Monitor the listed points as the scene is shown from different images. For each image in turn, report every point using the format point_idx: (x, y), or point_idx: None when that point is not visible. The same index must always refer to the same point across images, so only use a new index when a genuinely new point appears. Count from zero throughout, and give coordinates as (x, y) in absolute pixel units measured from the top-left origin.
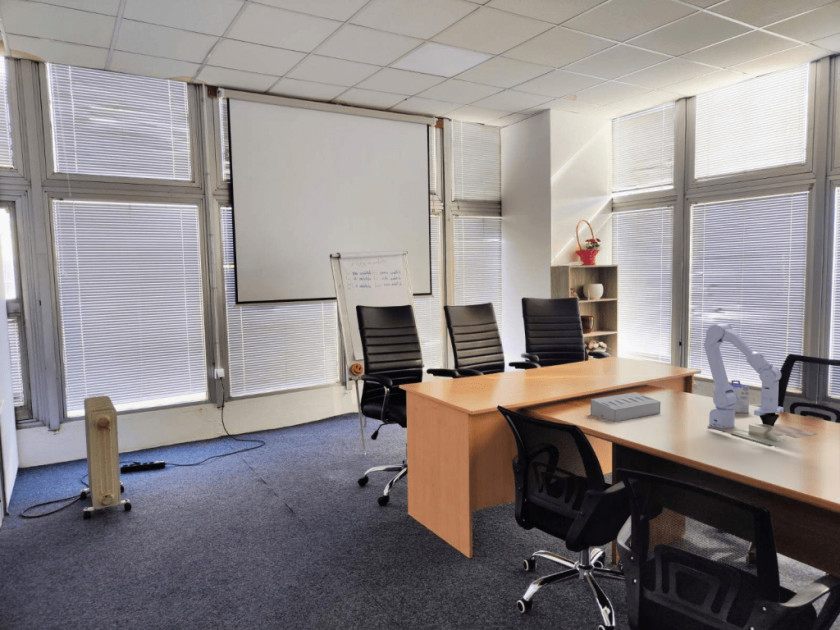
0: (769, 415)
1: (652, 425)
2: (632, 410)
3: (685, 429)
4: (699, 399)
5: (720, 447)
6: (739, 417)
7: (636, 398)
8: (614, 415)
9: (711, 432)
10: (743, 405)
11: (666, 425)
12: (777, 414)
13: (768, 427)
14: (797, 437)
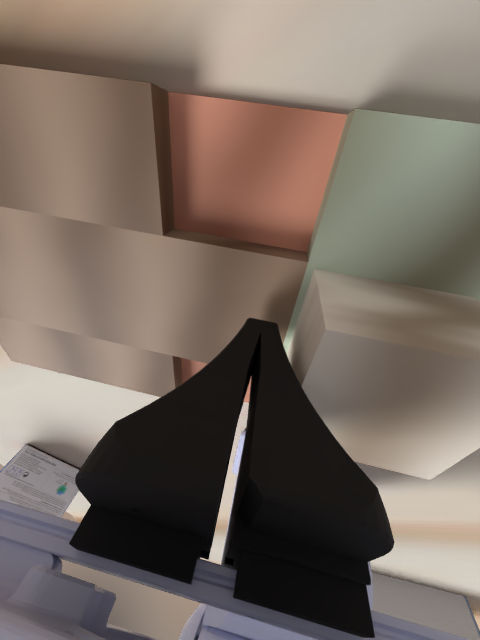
0: (281, 539)
1: (441, 562)
2: (393, 611)
3: (423, 523)
4: (74, 505)
5: None
6: (92, 450)
7: None
8: (474, 624)
9: (400, 478)
10: (19, 478)
11: (407, 546)
12: (94, 491)
13: (452, 353)
14: (124, 81)
